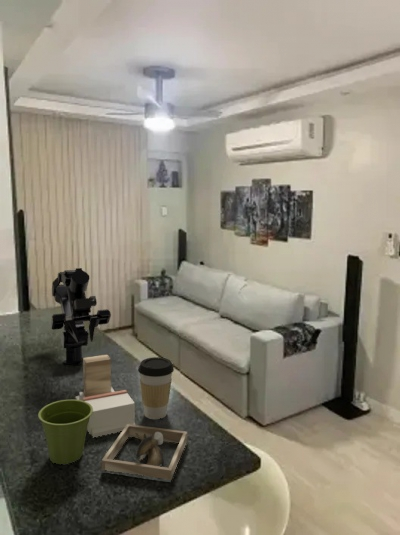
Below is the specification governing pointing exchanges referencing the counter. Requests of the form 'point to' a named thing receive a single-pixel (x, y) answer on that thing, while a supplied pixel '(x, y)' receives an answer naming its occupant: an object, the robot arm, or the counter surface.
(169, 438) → the frame
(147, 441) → the eagle figurine
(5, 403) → the counter surface
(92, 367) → the light wood block
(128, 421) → the housing
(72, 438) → the plant pot
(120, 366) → the counter surface
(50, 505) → the counter surface
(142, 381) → the coffee cup
